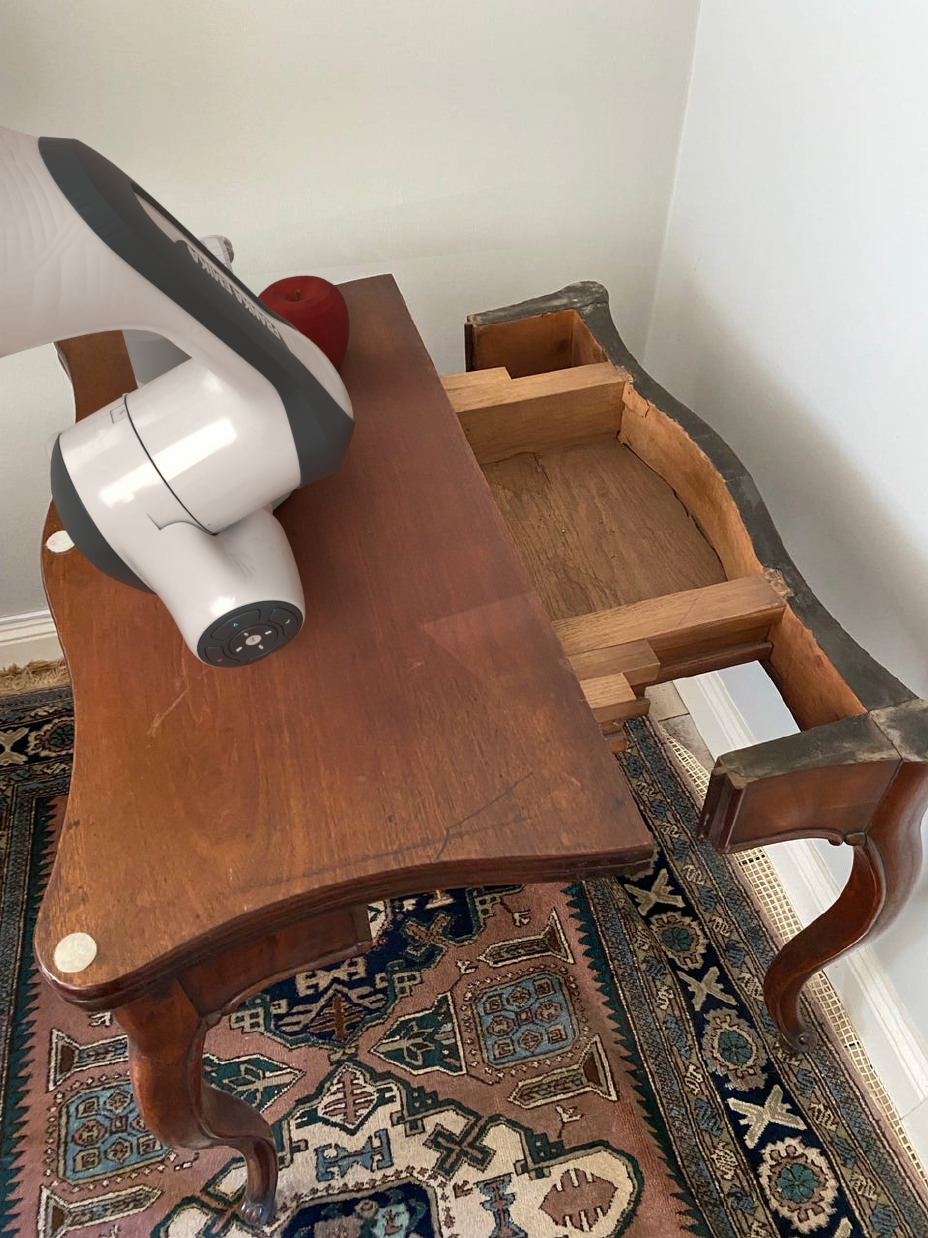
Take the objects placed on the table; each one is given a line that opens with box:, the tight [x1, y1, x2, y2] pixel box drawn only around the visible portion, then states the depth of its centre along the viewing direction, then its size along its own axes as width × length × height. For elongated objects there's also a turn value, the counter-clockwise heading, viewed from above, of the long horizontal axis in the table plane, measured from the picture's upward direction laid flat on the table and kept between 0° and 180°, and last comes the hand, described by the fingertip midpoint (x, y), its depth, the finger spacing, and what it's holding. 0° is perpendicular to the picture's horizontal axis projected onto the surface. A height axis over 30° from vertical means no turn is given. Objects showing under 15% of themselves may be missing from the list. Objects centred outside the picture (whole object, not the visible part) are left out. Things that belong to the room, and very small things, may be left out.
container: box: [121, 330, 192, 389], centre depth 76 cm, size 5×5×15 cm
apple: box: [257, 275, 350, 371], centre depth 91 cm, size 10×10×10 cm
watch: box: [197, 234, 235, 274], centre depth 95 cm, size 6×8×11 cm
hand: (169, 391), depth 75 cm, fingers closed on container, 4 cm apart
